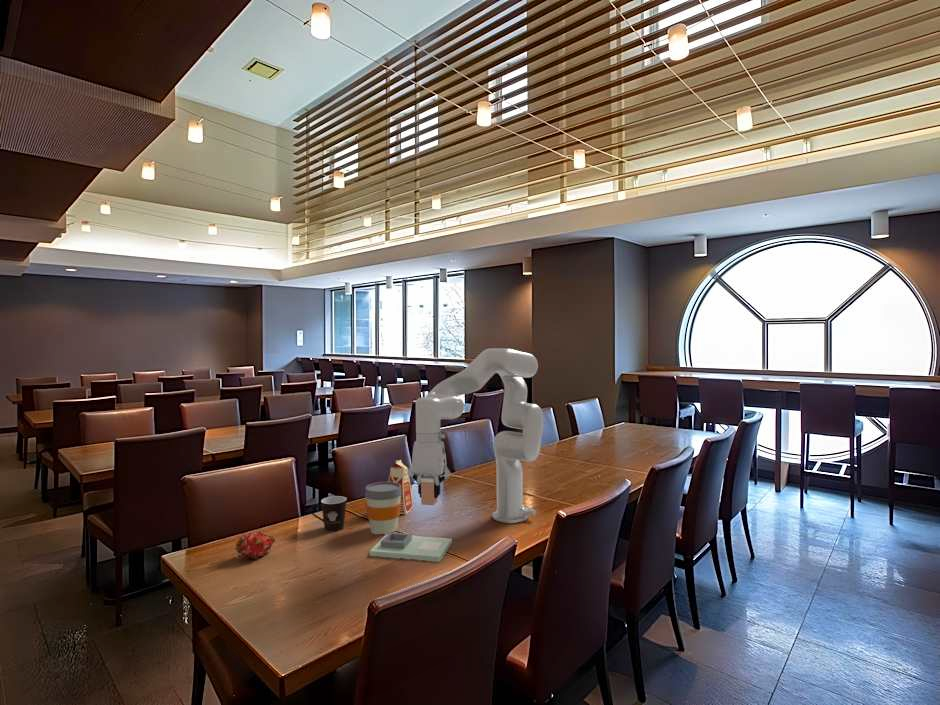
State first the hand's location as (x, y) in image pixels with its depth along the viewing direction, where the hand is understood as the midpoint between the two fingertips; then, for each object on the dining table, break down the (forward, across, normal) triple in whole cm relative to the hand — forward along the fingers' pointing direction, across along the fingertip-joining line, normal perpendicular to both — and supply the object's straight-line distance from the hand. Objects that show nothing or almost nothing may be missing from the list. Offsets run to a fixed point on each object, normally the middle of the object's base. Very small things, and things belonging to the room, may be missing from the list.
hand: (429, 496), depth 156 cm
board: (+17, +6, 0) cm, 18 cm away
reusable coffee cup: (+17, +21, -14) cm, 30 cm away
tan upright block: (+2, 0, 0) cm, 2 cm away
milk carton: (+17, +23, -34) cm, 44 cm away
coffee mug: (+17, +40, -12) cm, 45 cm away
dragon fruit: (+17, +51, +14) cm, 56 cm away
